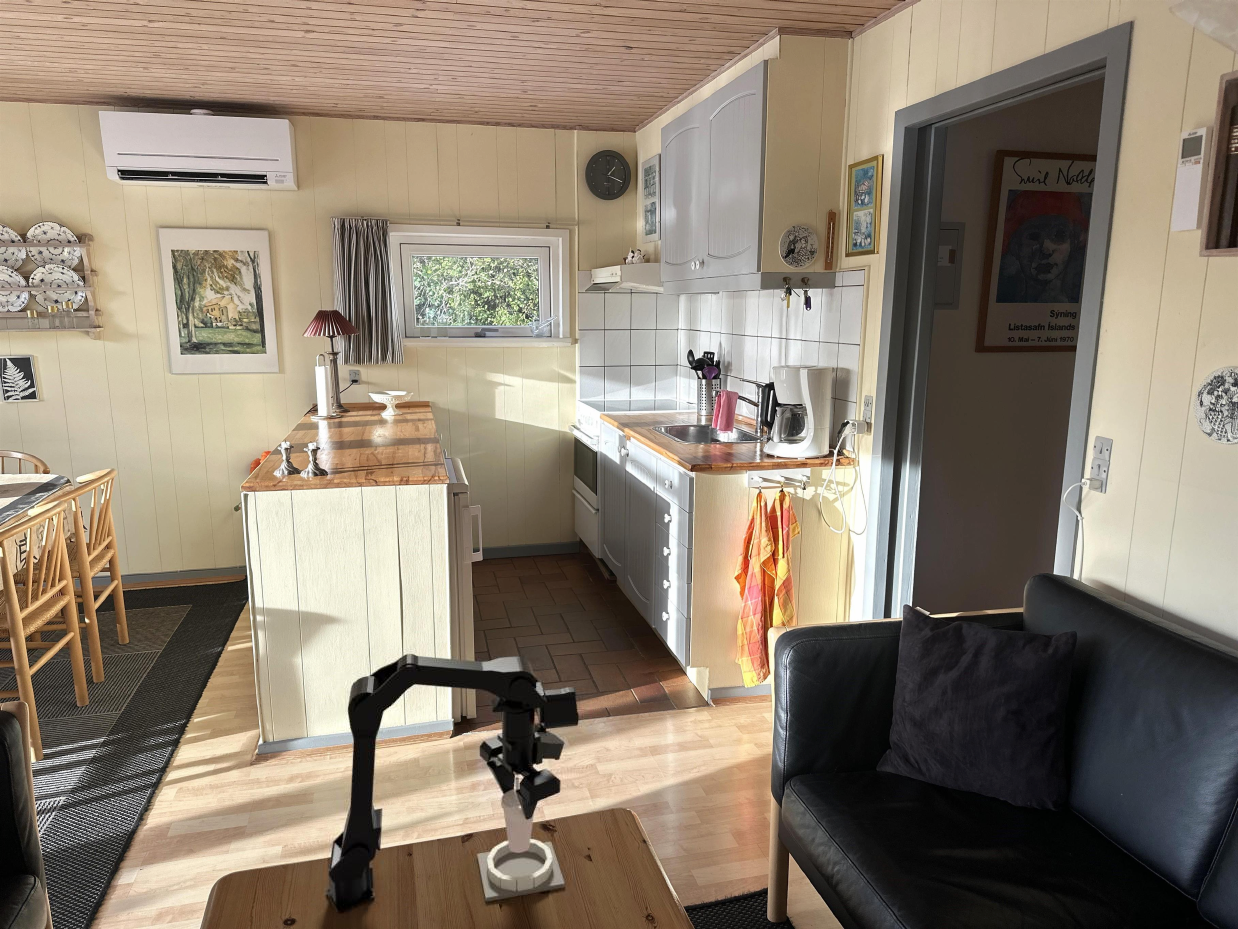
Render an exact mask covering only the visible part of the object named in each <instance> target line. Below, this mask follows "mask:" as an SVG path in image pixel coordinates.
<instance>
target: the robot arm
mask: <svg viewBox="0 0 1238 929" xmlns="http://www.w3.org/2000/svg"><path fill="white" fill-rule="evenodd" d="M415 685H418V686H428V687H441V688H453V689H454V688H455V689H465V690H467V689H468V690H475V691H476V690H478V691H483V692H487V693H488V694H490V695H493V696H494V698H492V699H491V700H490V706H491V712H492V713H494V714H495V713H501V732H500V733H497V736H494V737H491V738H488V739H485V740H483V742H482V743H481V744H480V745H479V756H480V758H482V760H483V761H485V762H486V765H487V767H488V768H489V770H490V772H491V774H492V775H493V778H494V779H495V781H496V783H497V785H498V787H499V789H500V791H501V792H502V794H503V795H504V794H505V793H506V792H508V791H510V790H513V789H515V784H516V776H519V775H521V777H523V778H522V779H521V780H520V781H519V789H518V790H515V792H516V795H517V797H518V800H519V803H520V806H521V808H522V811H523V814H524V816H525V819H526V820H528V819H531V818H532V816H533V813H534V814H535V811H536V808H537V806H538V803H539V801H542V800H545V799H547V798H550V797H553V796H554V795H557V794H559V793H560V792H561V790H562V788H561V787H562V786H561V779H560V778H558V777H557V775H555V774H553V772H551V771H550V770H549V769H547V768H544V769H543V768H542V769H541V770H537V769H536V768H535V767H534V765H536V766H538V765H540V764H543V762H544V761H543V760H555V761H559V760H561V755H562V752H563V748H564V746H565V741H563V740H562V739H561V738H559V736H558V735H555V733H552V732H550V731H549V730H551V729H560V728H570V727H578V726H579V719H580V717H579V716H580V715H579V711H578V706H577V699H576V690H575V688H574V687H573V686H569V687H568V686H567V687H564V688H557V689H547V690H545V689H544V688H543V683H542V682H541V681H540V680H539V679H538V678H537V677H536V675H535V673H534V669H533V667H532V663H530V662H529V660H528V659H527V658H525V657H523V656H507V657H498V658H495V659H492V660H489V661H477V660H476V661H475V660H466V659H453V658H444V657H443V658H442V657H432V656H430V657H429V656H420V655H416V654H413V653H407V654H406V653H405V654H404V655H402V656H400V657H399V658H398V659H397V660H395V661H394V662H390V663H389V664H386V665H384V666H382V667H380V668H378V669H377V670H375V671H374V672H372V673H371V674H370V675H367V676H362V677H360V678H357V679H356V681H354V682H353V683H352V685H351V686H350V691H349V692H350V694H349V697H348V704H347V715H348V723H349V727H350V728H349V729H350V731H351V735H352V739H353V745H352V746H353V747H352V749H353V750H352V763H351V764H352V768H351V787H350V806H349V809H348V813H347V816H346V820H345V822H344V823H345V824H344V828H343V831H342V832H341V833H340V834H339V835H337V837H336V838H335V839H334V840H333V842H332V845H331V846H332V847H331V854H330V861H329V866H327V869H328V873H327V874H328V886H329V888H328V889H326V895H327V896H328V898H329V900H330V902H331V903H332V904H333V907H334V908H335V910H336V911H337V913H338V914H342V913H345V912H347V911H349V910H351V909H354V908H355V907H358V906H360V905H362V904H364V903H368V902H369V901H372V900H374V899H375V897H376V894H375V892H374V891H373V889H374V888H375V885H374V884H375V883H374V882H375V881H374V868H373V866H372V864H370V862H373V861H374V860H375V858H376V854H377V851H381V848H382V847H381V845H382V828H383V826H382V824H383V823H382V822H383V808H382V807H381V808H377V809H375V806H374V802H373V798H374V784H375V783H374V781H375V780H374V778H375V762H376V744H377V737H378V733H379V730H380V728H381V723H382V720H383V716H384V712H385V711H386V710H388V709H389V708H390V707H392V706H393V705H395V703H396V702H397V701H398V699H400V698H401V696H402V695H404V694H405V693H406V691H408V690H409V689H410V688H412V687H413V686H415ZM535 714H537V721H538V722H536V715H535ZM503 795H502V796H503ZM533 817H534V816H533Z"/></svg>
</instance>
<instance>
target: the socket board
mask: <svg viewBox="0 0 1238 929" xmlns="http://www.w3.org/2000/svg"><path fill="white" fill-rule="evenodd" d="M476 856H477V857H476V858H477V862H478V868H479V873H480V874H479V875H480V878H481V879H480V880H481V883H482V890H483V895H484V899H485V900H484V901H485V902H492V901H497V900H498V901H499V900H503V899H504V900H505V899H508V898H513V897H520V896H524V895H530V894H535V893H540V892H541V893H542V892H547V891H552V890H558V889H563V888H565V885H566V884H565V880H564V877H563V875H562V871H561V868H560V865H559V861H558V859H557V856H556V852H555V849H554V846H553V844H552V841H545V842H542V841H541V840H538V839H533V838H531V839H530V846H529V848H528V850H526V851H525V852H521V853H516V852H513V851H511V850H510V849H509V843H508V839H507V840H504V841H503V842H500V843H499V844H496V846H493V848H492V849H491V851H487V852H481V853H477V855H476Z"/></svg>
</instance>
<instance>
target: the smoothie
mask: <svg viewBox="0 0 1238 929" xmlns="http://www.w3.org/2000/svg"><path fill="white" fill-rule="evenodd" d="M519 783H520V781H519V777H518V776H517V777H516V776H515V788H514V789H513V790H510V791H508V792H506V793H505V794H504V795H502V796H501V799H500V801H501V802H500V805H501V806H500V807H501V808H502V809H503V815H504V816H503V817H504V822H505V830H506V834H507V835H506V836H507V840H508V843H509V849H510V850H511V851H513V852H516V853H521V852H525V851H526V850H528V848H529V846H530V839H532V830H533V823H534V816H535V812H534V813H533V816H532V818H531V819H528V820H526V819H525V816H524V814H523V811H522V808H521V806H520V803H519V800H518V797H517V795H516V792H515V790H518V789H519Z"/></svg>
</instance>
